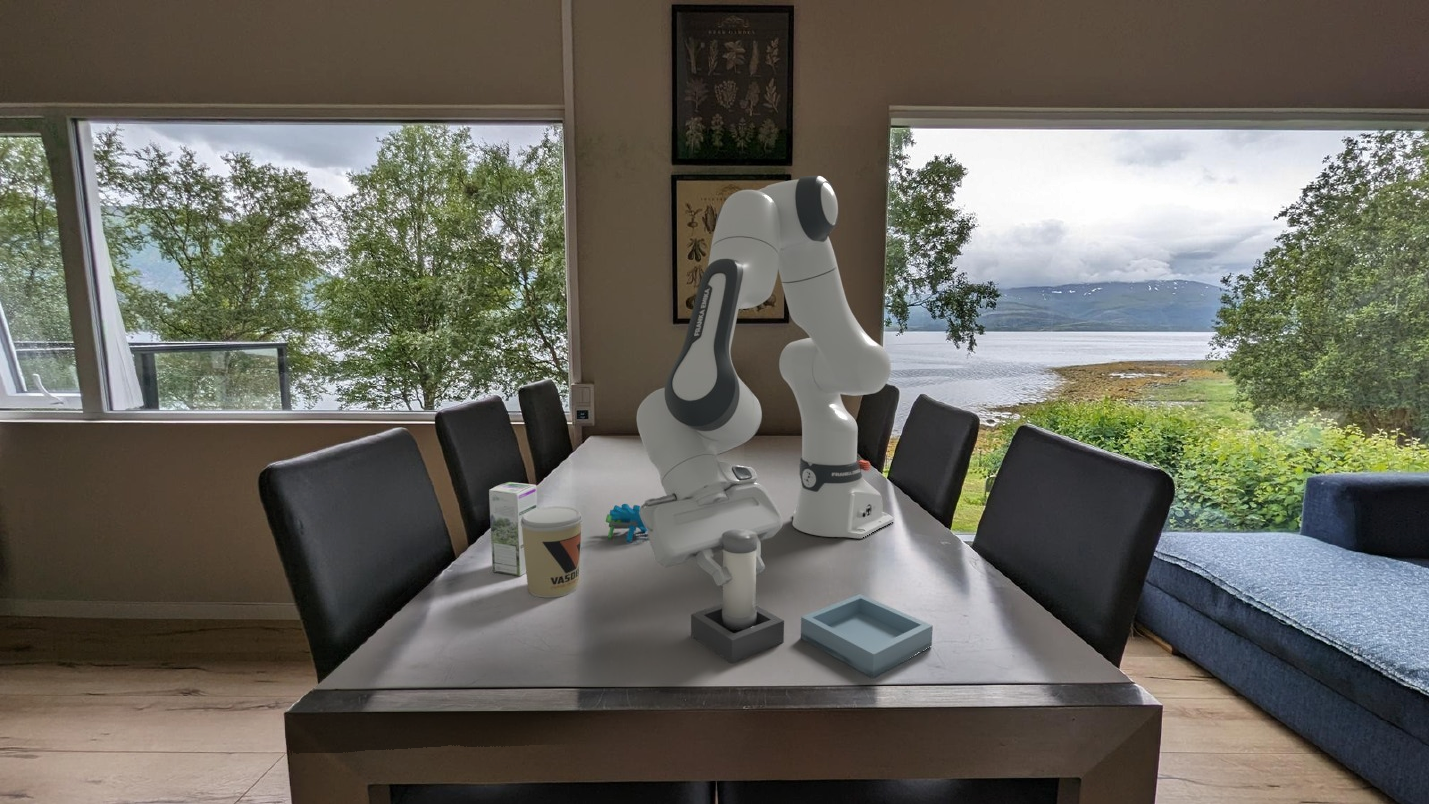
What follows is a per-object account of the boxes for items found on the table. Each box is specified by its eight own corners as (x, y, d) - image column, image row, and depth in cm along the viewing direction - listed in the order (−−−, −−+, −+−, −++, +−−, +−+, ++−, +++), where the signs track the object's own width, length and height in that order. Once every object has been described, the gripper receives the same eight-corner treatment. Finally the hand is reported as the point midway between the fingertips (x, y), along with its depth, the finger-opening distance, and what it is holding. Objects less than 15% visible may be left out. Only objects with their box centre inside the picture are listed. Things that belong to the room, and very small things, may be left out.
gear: (668, 525, 126) (648, 500, 119) (662, 552, 122) (640, 528, 115) (620, 526, 130) (597, 501, 123) (613, 552, 126) (589, 529, 119)
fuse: (741, 610, 87) (741, 527, 86) (763, 623, 84) (764, 536, 82) (715, 620, 85) (714, 534, 83) (736, 633, 81) (737, 544, 79)
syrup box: (540, 564, 109) (538, 483, 107) (519, 577, 104) (516, 491, 102) (512, 560, 111) (510, 480, 109) (490, 572, 105) (487, 488, 104)
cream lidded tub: (552, 605, 94) (550, 527, 92) (509, 591, 98) (507, 516, 97) (595, 584, 101) (594, 511, 100) (554, 571, 106) (552, 502, 105)
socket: (741, 617, 90) (741, 597, 90) (783, 642, 83) (784, 620, 83) (691, 635, 85) (691, 614, 85) (732, 663, 78) (732, 640, 78)
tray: (859, 613, 92) (859, 594, 91) (931, 647, 82) (932, 625, 82) (800, 638, 84) (801, 616, 84) (872, 678, 75) (873, 654, 75)
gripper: (643, 489, 81) (687, 587, 74) (762, 466, 93) (808, 549, 87) (626, 514, 85) (667, 609, 79) (742, 489, 97) (785, 569, 91)
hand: (742, 577), depth 83 cm, fingers closed on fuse, 4 cm apart
